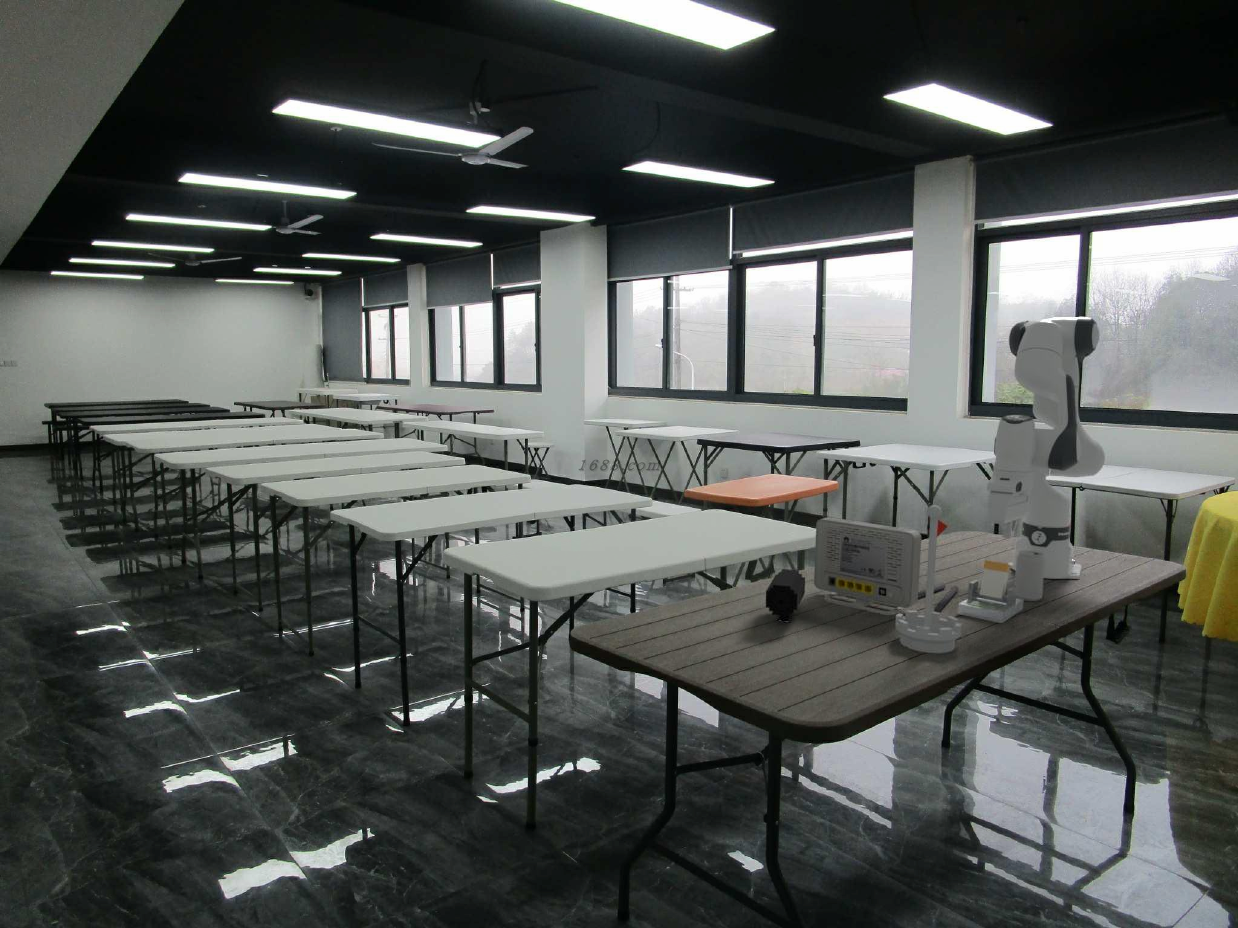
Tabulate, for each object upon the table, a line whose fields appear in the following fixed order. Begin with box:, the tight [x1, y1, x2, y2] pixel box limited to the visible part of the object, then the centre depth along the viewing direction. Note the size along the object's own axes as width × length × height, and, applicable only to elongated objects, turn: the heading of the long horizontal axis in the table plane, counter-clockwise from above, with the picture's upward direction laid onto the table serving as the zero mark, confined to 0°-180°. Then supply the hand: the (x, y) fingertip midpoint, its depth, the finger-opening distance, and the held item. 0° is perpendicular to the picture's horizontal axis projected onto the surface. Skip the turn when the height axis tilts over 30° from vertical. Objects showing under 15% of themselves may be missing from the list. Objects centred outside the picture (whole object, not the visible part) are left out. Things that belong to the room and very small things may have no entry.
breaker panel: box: [957, 579, 1025, 624], centre depth 196 cm, size 15×10×6 cm, turn 137°
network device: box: [813, 516, 922, 616], centre depth 200 cm, size 26×9×20 cm, turn 47°
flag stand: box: [894, 504, 962, 654], centre depth 172 cm, size 13×13×30 cm
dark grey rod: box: [933, 585, 959, 613], centre depth 204 cm, size 23×1×1 cm, turn 147°
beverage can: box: [1014, 550, 1045, 602], centre depth 207 cm, size 6×6×12 cm
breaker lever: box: [975, 559, 1011, 603], centre depth 196 cm, size 2×7×9 cm, turn 48°
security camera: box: [765, 568, 806, 622], centre depth 190 cm, size 7×18×10 cm, turn 161°
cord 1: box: [918, 582, 946, 599], centre depth 210 cm, size 19×1×1 cm, turn 132°
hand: (1008, 537), depth 201 cm, fingers closed
